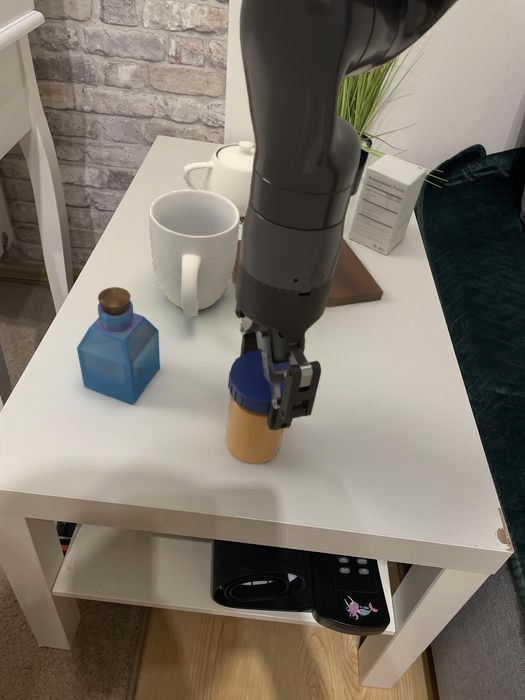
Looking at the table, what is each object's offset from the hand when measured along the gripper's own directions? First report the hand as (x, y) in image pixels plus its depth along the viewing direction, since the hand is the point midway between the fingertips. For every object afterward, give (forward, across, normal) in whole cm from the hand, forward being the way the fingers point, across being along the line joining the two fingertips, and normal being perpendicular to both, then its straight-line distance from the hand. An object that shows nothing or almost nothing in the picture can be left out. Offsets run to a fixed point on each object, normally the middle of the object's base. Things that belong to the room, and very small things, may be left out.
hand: (263, 391), depth 52 cm
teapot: (+7, -47, +14) cm, 50 cm away
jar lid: (-3, 0, 0) cm, 3 cm away
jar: (+7, 0, 0) cm, 7 cm away
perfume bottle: (+7, -12, -12) cm, 19 cm away
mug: (+7, -24, -2) cm, 25 cm away
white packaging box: (+7, -33, +33) cm, 47 cm away
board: (+7, -26, +16) cm, 32 cm away
